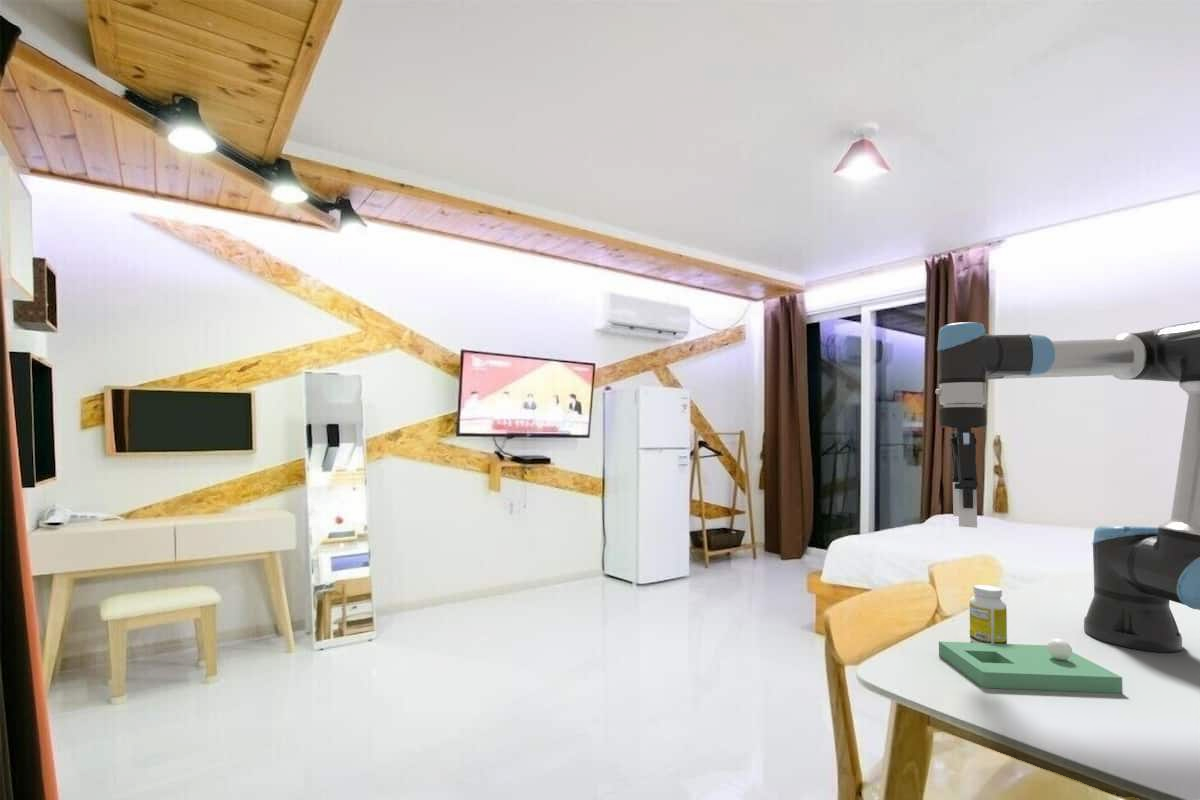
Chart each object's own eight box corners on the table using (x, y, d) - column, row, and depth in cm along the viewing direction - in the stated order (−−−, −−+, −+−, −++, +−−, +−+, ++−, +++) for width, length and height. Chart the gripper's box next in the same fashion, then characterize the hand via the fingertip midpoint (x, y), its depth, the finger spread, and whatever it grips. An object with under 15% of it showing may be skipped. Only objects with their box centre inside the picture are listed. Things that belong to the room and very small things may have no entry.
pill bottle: (1001, 641, 121) (1001, 585, 122) (1011, 651, 115) (1011, 593, 116) (966, 636, 123) (966, 582, 124) (974, 647, 117) (973, 589, 118)
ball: (1062, 656, 107) (1062, 636, 107) (1077, 663, 103) (1077, 643, 103) (1042, 655, 107) (1042, 635, 107) (1056, 663, 103) (1056, 642, 104)
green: (1060, 659, 112) (1060, 645, 112) (1122, 693, 98) (1122, 677, 98) (938, 655, 113) (938, 641, 113) (982, 687, 99) (982, 672, 99)
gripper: (936, 408, 125) (938, 511, 124) (942, 404, 103) (945, 530, 102) (978, 407, 122) (980, 513, 121) (995, 404, 100) (997, 533, 99)
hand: (964, 521), depth 112 cm, fingers open, 13 cm apart
